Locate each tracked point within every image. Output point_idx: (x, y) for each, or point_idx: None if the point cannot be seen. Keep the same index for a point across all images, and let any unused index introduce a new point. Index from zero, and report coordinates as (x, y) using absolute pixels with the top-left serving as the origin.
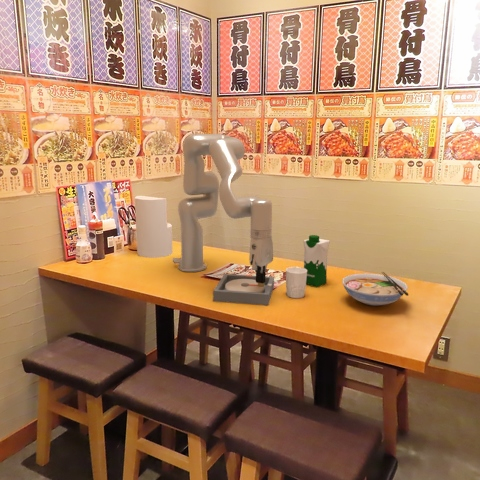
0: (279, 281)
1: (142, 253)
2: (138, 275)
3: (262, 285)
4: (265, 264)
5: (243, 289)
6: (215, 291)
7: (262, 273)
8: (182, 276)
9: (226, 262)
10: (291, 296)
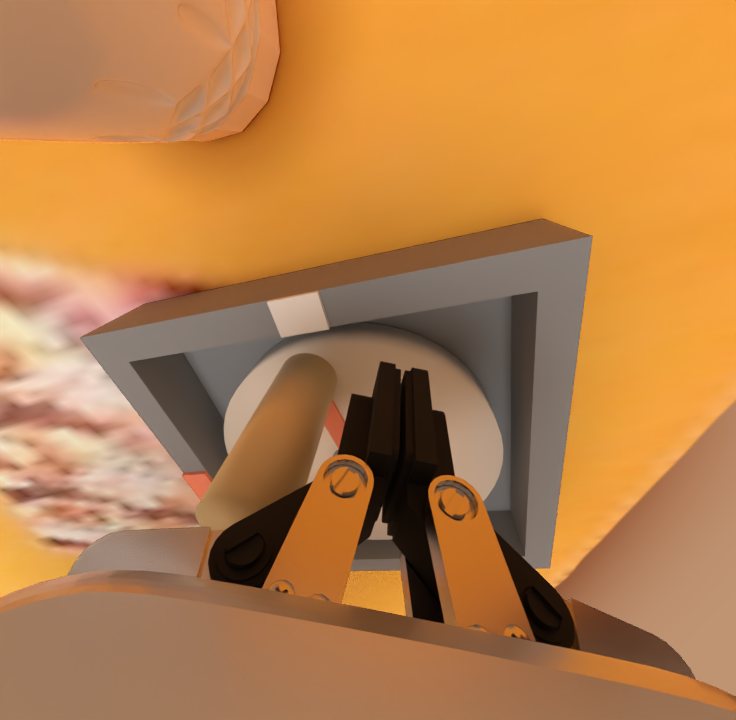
0: (28, 295)
1: None
2: None
3: (325, 366)
4: (566, 690)
5: None
6: (549, 558)
7: (434, 469)
8: None
9: (58, 557)
10: (277, 40)
